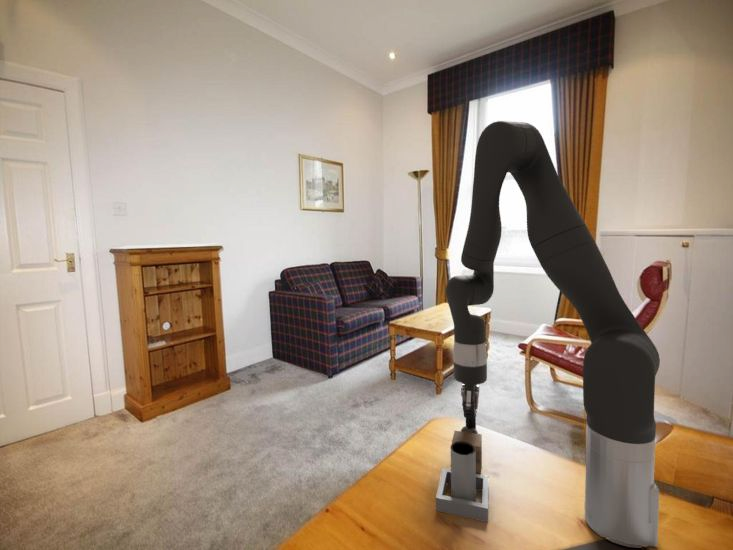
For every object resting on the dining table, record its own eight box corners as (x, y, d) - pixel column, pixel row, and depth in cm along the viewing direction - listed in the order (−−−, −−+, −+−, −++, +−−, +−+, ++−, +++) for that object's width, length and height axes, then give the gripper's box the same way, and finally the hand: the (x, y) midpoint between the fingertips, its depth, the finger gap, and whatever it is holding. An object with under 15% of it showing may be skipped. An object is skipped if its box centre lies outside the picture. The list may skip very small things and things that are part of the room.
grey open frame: (488, 488, 70) (488, 476, 70) (487, 522, 61) (487, 508, 61) (442, 479, 73) (442, 467, 73) (436, 510, 65) (435, 497, 64)
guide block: (481, 462, 78) (481, 434, 77) (480, 477, 73) (480, 446, 73) (454, 458, 80) (454, 430, 79) (452, 471, 75) (451, 442, 75)
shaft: (478, 443, 82) (478, 427, 82) (476, 468, 73) (476, 449, 73) (460, 440, 83) (460, 424, 83) (456, 464, 74) (456, 446, 74)
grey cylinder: (477, 509, 64) (476, 455, 64) (451, 506, 65) (450, 453, 64) (474, 492, 69) (474, 441, 68) (451, 489, 70) (450, 440, 69)
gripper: (485, 371, 75) (486, 448, 77) (487, 352, 87) (488, 419, 89) (449, 367, 78) (451, 442, 79) (456, 350, 90) (457, 415, 92)
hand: (470, 430), depth 84 cm, fingers closed
